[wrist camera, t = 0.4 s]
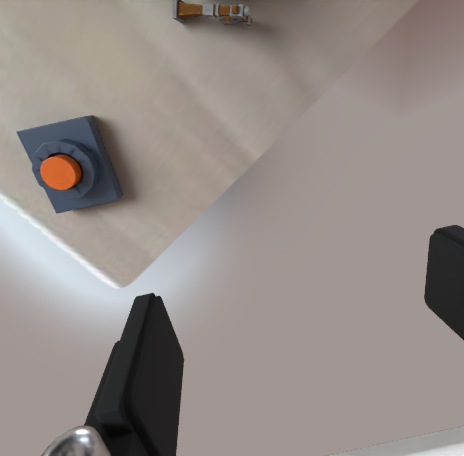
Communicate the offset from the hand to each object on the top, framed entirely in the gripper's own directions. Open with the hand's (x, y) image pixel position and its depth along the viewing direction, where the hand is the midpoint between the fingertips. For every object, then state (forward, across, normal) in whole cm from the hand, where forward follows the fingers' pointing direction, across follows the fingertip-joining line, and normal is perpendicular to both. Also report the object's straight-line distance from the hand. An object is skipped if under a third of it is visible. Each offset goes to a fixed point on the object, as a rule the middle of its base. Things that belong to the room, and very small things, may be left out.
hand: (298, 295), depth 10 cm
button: (+26, +19, -3) cm, 32 cm away
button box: (+30, +19, -3) cm, 35 cm away
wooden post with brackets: (+30, -1, -15) cm, 33 cm away
